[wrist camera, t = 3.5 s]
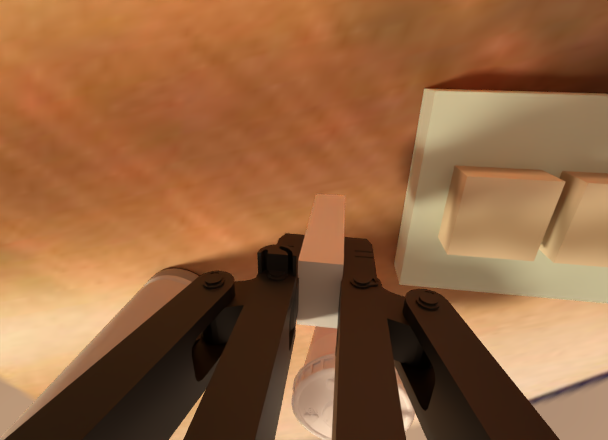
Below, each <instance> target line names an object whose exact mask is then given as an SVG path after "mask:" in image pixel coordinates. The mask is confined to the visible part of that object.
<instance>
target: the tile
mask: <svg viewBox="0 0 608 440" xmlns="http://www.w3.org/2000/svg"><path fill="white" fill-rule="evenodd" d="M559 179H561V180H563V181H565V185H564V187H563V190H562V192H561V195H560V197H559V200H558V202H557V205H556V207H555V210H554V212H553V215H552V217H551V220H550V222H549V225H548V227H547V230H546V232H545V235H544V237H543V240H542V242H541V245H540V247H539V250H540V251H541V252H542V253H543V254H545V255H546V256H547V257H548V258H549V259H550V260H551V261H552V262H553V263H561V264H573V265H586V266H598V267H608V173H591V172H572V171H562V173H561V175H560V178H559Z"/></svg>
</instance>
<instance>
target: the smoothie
mask: <svg viewBox="0 0 608 440" xmlns="http://www.w3.org/2000/svg"><path fill="white" fill-rule="evenodd" d="M336 338H337V328H328V327H319V326H316V327H315V330H314V334H313V337H312V341H311V344H310V348H309V351H308V354H307V357H306V361H305V364H304V366H303V367H302V368H301V369H300V370H299V372H298V374H297V375H296V377H295V379H294V384H293V395H292V409H293V412H294V414H295V416H296V418H297V420H298V421H299V422H300V424H301V425H302V426H303V427H304V428H305V429H306V430H308V431H309V432H310V433H312V434H313V435H315V436H317V437H319V438H321V439H323V440H332V420H333V399H334V378H335V357H336V356H335V349H336ZM395 372H396V378H397V385H398V391H399V397H400V404H401V410H402V416H403V423H404V429H405V432H406V431H407V430H408V428H409V427H410V426H411V424H412V422H413V419H414V414H415V411H414V409H413V406H412V404H411V402H410V400H409V397H408V395H407V393H406V390H405V388H404V386H403V384H402V381H401V379H400V377H399V375H398V372H397V370H396V368H395Z"/></svg>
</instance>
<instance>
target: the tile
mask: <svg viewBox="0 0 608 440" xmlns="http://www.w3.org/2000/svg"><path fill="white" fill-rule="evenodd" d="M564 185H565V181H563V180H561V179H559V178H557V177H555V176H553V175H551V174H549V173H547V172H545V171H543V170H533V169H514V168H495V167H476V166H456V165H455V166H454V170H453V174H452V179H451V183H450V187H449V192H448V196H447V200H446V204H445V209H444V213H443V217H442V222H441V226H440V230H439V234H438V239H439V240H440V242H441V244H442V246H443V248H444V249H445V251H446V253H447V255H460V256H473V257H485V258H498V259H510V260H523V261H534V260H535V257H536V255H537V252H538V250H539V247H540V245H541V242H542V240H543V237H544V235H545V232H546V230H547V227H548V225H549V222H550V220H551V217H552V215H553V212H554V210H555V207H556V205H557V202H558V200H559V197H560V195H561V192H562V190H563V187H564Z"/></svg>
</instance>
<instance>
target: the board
mask: <svg viewBox="0 0 608 440" xmlns="http://www.w3.org/2000/svg"><path fill="white" fill-rule="evenodd" d="M455 165H456V166H476V167H495V168H514V169H533V170H543V171H545V172H547V173H549V174H551V175H553V176H555V177H557V178H560V175H561V173H562V171H572V172H591V173H608V94H603V93H568V92H533V91H497V90H462V89H427V88H424V93H423V99H422V105H421V111H420V117H419V122H418V128H417V134H416V140H415V146H414V151H413V157H412V163H411V169H410V175H409V180H408V186H407V192H406V198H405V204H404V209H403V215H402V221H401V227H400V233H399V238H398V244H397V250H396V256H395V261H394V266H395V270H396V274H397V278H398V282H399V285H409V286H420V287H431V288H442V289H453V290H464V291H475V292H486V293H497V294H508V295H519V296H531V297H542V298H553V299H564V300H575V301H586V302H597V303H608V267H598V266H586V265H573V264H561V263H553V262H552V261H551V260H550V259H549V258H548V257H547V256H546V255H545V254H543V253H542V252H541V251H540V250H538V252H537V255H536V257H535V260H534V261H523V260H510V259H498V258H485V257H473V256H460V255H447V253H446V251H445V249H444V248H443V246H442V244H441V242H440V240H439V239H438V234H439V230H440V226H441V222H442V217H443V213H444V209H445V204H446V200H447V196H448V192H449V187H450V183H451V179H452V174H453V170H454V166H455Z"/></svg>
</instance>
